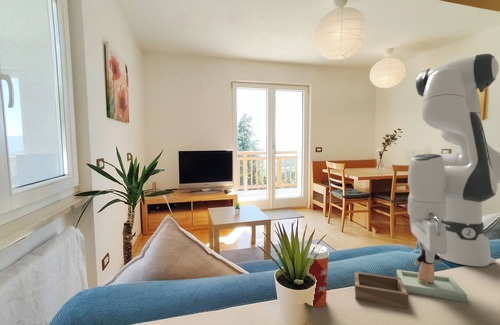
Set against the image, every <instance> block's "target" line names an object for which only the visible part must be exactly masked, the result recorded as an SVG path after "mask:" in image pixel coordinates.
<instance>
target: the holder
mask: <svg viewBox="0 0 500 325" xmlns="http://www.w3.org/2000/svg"><path fill="white" fill-rule="evenodd" d="M354 296H355V297H354V298H355V300H359V301H365V302H369V303H375V304H380V305H385V306H391V307H396V308H402V309H407V310H409V293H408V292H407V291H406V289H405V287H404V285H403V282H402V280H401V278H397V276H396V277H395V276H387V275H382V274H381V275H380V274H373V273H367V272H360V271H354Z"/></svg>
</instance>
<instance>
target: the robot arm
mask: <svg viewBox="0 0 500 325" xmlns="http://www.w3.org/2000/svg"><path fill="white" fill-rule="evenodd" d="M499 70H500V65H499V63H498V60H497V59H496V58H495V56H494V55H492V54H491V53H481V54H476V55H475V56H469V57H464V58H460V59H459V58H458V59H456V60H451V61H450V62H446V63H443V64H441V65H438V66H434V67H431V68H427V69H425V70H423V71H421V72H420V73H419V74H418V75H417V77H416V80H415V90H416V91H417V94H418V95H419V96H420V97H422V103H421V117H422V120H423V121H424V122H425V123H426V124H427V125H428V126H430V127H432V128H434V129H437V130H439V131H441V133H440V134H441V137H442V139H443V140H444V141H446V142H448V143H450V144H453V145H456V146H459V148H460V149H461V150H460V151H461V152H458V153H457V152H456V153H454V152H453V153H425V154H424V153H423V154H418V155H414V156H412V157H411V158H410V160H409V163H408V164H409V165H408V173H407V186H408V190H409V194H408V197H407V205H406V211H407V213H408V214H407V215H409V227H410V231H411V234H412V235H413V236H414V237H415V238H416V239H417V240H418V241H417V242H418V246H419V254H420V255H421V254H422V253H424V252H426V254H425V260H426V261H427V262H428V263H434V257H435V254H438V255H439V257H440V259H442V260H444V261H447V262H450V263H454V264H458V265H463V266H469V267H487V266H489V265H490V264H496V263H497V260H496V259H495V258H494V257H491V255H492V254H491V248H490V241H489V240H490V239H489V238H488V237H487V236H485V234H484V233H485V226H484V225H485V224H484V222H483V215H482V214H483V211H482V210H483V207H482V206H483V202H486V201H487V200H490V199H491V198H493V197H494V196H496V194H497V190H498V183H500V152H499V151H497V150H495V149H494V148H493V147H492V146H490V145H489V144H488V142H487V138H486V135H485V130H484V127H483V123H482V108H481V107H482V106H481V100H480V94H479V92H480V93H483V92H484V91H485V89H486V88H488V87H489V86H490V85H492V83H494V82H495V81H496V78H497V76H498V73H499ZM478 90H479V91H478ZM423 245H424V246H425V249H426V251H425V249H424V248H423ZM434 264H435V263H434Z"/></svg>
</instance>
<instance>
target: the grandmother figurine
mask: <svg viewBox="0 0 500 325" xmlns="http://www.w3.org/2000/svg"><path fill="white" fill-rule="evenodd" d="M423 248H424V249H425V246H424V245H423ZM425 251H426V249H425ZM425 254H426V252H424V253H422V254H420V255H419V256H418V257H417V258H416V260H415V262H414V263H413V265H414V267H419V265H420V267H419V269H418V272H419V274H418V277H417V280H418V282H419V283H420V284H426V281H427V282H429V283H434V275H435V262H437V263H438V264H441V263H442V260H441V258H440V257H439V255H438V254H435V257H434V263H428V262H427V261H426V260H425Z"/></svg>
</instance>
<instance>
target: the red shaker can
mask: <svg viewBox="0 0 500 325" xmlns="http://www.w3.org/2000/svg"><path fill="white" fill-rule="evenodd" d="M310 244H311V246H310V250H309V252H308V255H307V258H310V259H314V256H315V255H316V254H319V255H318V256H317V258H316V259H314V262H313V264H312V265H311V266H310V269H309V273H310V274H312V275H313V276H315V278H316V280H317V282H316V288H315V294H314V300H313V306H312V307H313V308H321V307H324V306H325V305H326V303H327V288H328V266H329V264H328V263H329V257H330V253H329V251H328V248H327V247H326V246H324V245H320V244H318V243H317V244H315V243H310ZM304 245H305V246H306V245H307V244H304ZM316 246H317V247H316ZM314 247H315V249H314V252H313V253H312V255H311V251H312V250H313V248H314ZM322 250H323V251H322Z"/></svg>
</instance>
